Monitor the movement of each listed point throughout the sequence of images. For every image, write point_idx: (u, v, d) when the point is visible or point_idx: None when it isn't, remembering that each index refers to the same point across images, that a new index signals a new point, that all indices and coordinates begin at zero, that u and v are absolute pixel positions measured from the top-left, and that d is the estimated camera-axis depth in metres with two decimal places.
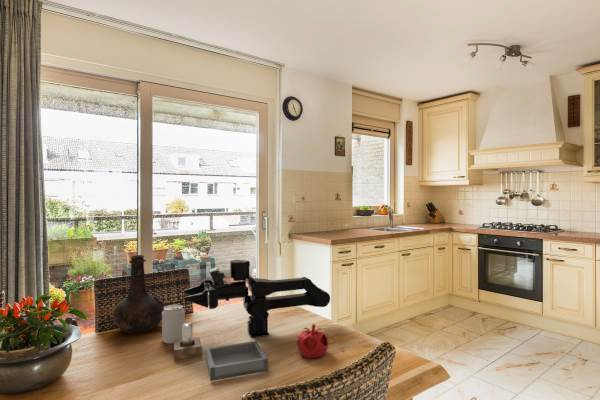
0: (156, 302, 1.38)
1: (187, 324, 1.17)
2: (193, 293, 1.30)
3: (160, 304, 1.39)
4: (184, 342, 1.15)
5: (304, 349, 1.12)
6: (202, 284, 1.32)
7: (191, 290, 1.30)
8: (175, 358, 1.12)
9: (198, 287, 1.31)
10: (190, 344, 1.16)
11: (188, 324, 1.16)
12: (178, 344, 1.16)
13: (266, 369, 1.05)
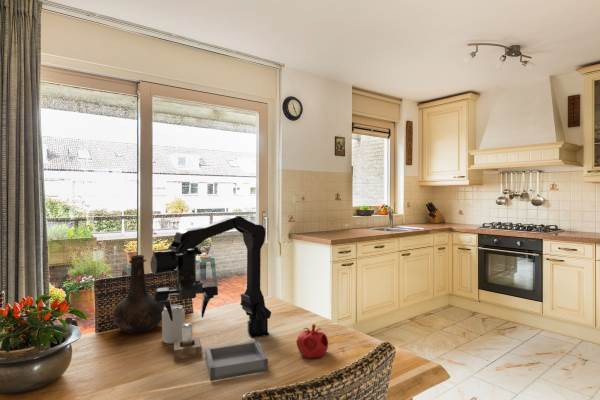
0: (156, 302, 1.38)
1: (187, 324, 1.17)
2: (171, 309, 1.16)
3: (160, 304, 1.39)
4: (184, 342, 1.15)
5: (304, 349, 1.12)
6: (170, 302, 1.13)
7: None
8: (175, 358, 1.12)
9: (170, 305, 1.14)
10: (190, 344, 1.16)
11: (188, 324, 1.16)
12: (178, 344, 1.16)
13: (266, 369, 1.05)
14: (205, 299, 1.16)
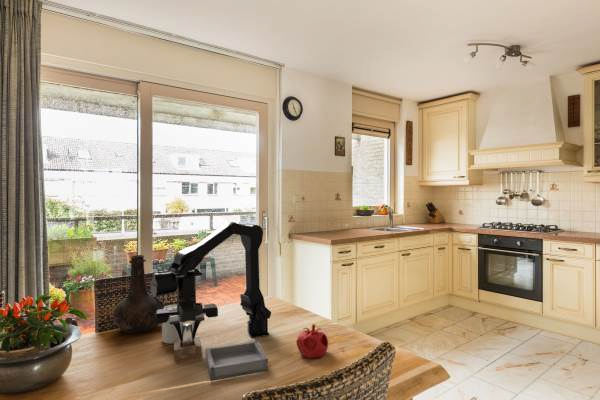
0: (156, 302, 1.38)
1: (187, 324, 1.17)
2: None
3: (160, 304, 1.39)
4: (184, 342, 1.15)
5: (304, 349, 1.12)
6: (179, 322, 1.14)
7: None
8: (175, 358, 1.12)
9: (180, 326, 1.15)
10: (190, 344, 1.16)
11: (188, 324, 1.16)
12: (178, 344, 1.16)
13: (266, 369, 1.05)
14: (196, 322, 1.15)
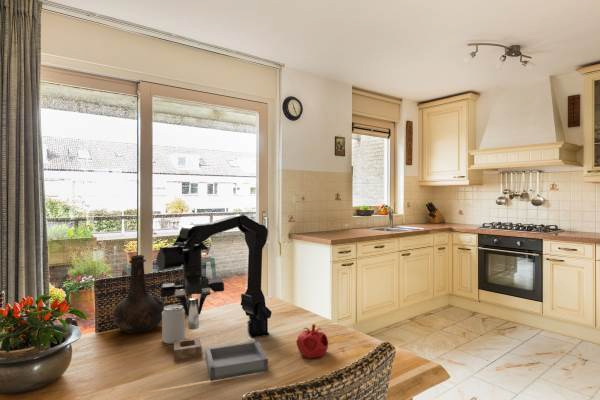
0: (156, 302, 1.38)
1: (193, 299, 1.15)
2: None
3: (160, 304, 1.39)
4: (190, 316, 1.14)
5: (304, 349, 1.12)
6: (185, 296, 1.13)
7: (187, 307, 1.15)
8: (175, 358, 1.12)
9: (186, 300, 1.14)
10: (196, 319, 1.15)
11: (194, 299, 1.15)
12: (178, 344, 1.16)
13: (266, 369, 1.05)
14: (202, 296, 1.14)
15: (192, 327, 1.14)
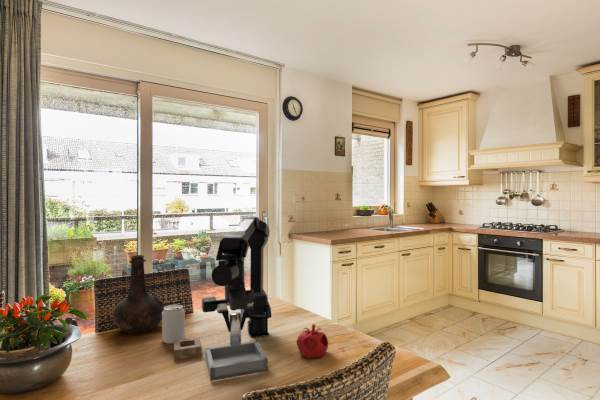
0: (156, 302, 1.38)
1: (235, 313, 1.09)
2: None
3: (160, 304, 1.39)
4: (232, 332, 1.07)
5: (304, 349, 1.12)
6: None
7: None
8: (175, 358, 1.12)
9: (228, 315, 1.07)
10: (239, 335, 1.08)
11: (236, 314, 1.08)
12: (178, 344, 1.16)
13: (266, 369, 1.05)
14: (245, 310, 1.07)
15: (235, 344, 1.07)
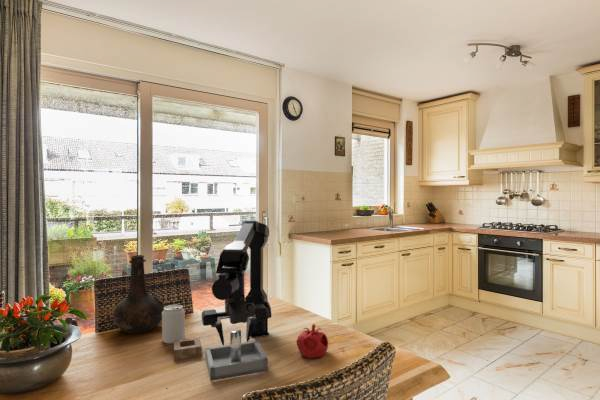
0: (156, 302, 1.38)
1: (235, 331, 1.09)
2: None
3: (160, 304, 1.39)
4: (233, 350, 1.07)
5: (304, 349, 1.12)
6: (221, 325, 1.06)
7: (222, 336, 1.07)
8: (175, 358, 1.12)
9: None
10: (239, 352, 1.08)
11: (236, 331, 1.08)
12: (178, 344, 1.16)
13: (266, 369, 1.05)
14: (251, 322, 1.08)
15: None
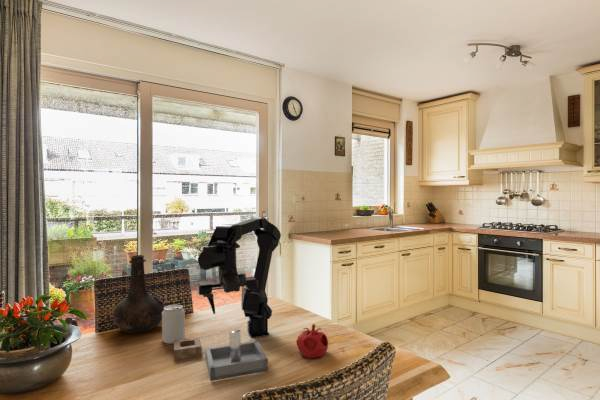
0: (156, 302, 1.38)
1: (235, 331, 1.09)
2: None
3: (160, 304, 1.39)
4: (232, 350, 1.07)
5: (304, 349, 1.12)
6: None
7: (213, 305, 1.17)
8: (175, 358, 1.12)
9: (213, 299, 1.16)
10: (239, 352, 1.08)
11: (236, 331, 1.08)
12: (178, 344, 1.16)
13: (266, 369, 1.05)
14: (246, 292, 1.18)
15: None
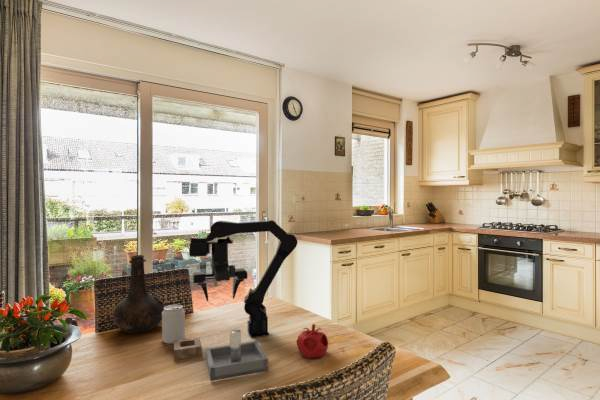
0: (156, 302, 1.38)
1: (235, 331, 1.09)
2: None
3: (160, 304, 1.39)
4: (232, 350, 1.07)
5: (304, 349, 1.12)
6: None
7: None
8: (175, 358, 1.12)
9: (206, 287, 1.29)
10: (239, 353, 1.08)
11: (236, 331, 1.08)
12: (178, 344, 1.16)
13: (266, 369, 1.05)
14: (236, 282, 1.31)
15: None
